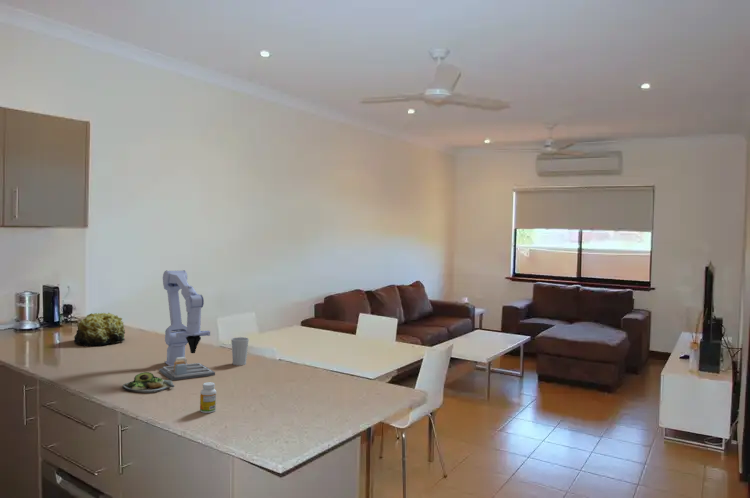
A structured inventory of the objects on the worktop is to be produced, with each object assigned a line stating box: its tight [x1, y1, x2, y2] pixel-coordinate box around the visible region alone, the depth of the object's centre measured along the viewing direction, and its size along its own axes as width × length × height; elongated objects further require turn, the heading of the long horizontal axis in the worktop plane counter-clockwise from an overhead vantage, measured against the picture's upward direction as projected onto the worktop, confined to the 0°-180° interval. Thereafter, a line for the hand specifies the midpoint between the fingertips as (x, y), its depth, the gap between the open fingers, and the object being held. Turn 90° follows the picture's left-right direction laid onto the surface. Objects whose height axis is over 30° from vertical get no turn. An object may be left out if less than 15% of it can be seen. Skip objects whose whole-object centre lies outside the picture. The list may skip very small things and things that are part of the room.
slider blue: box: [175, 364, 187, 375], centre depth 238 cm, size 3×4×5 cm
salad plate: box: [121, 371, 175, 394], centre depth 223 cm, size 19×18×5 cm
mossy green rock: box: [73, 312, 126, 347], centre depth 301 cm, size 25×24×16 cm
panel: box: [158, 362, 216, 382], centre depth 246 cm, size 18×19×2 cm
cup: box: [231, 336, 250, 366], centre depth 267 cm, size 8×8×12 cm
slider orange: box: [174, 360, 186, 372], centre depth 243 cm, size 3×4×5 cm
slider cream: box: [175, 356, 188, 365], centre depth 249 cm, size 3×4×5 cm
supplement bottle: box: [199, 381, 217, 414], centre depth 197 cm, size 5×5×10 cm
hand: (192, 352), depth 246 cm, fingers closed
